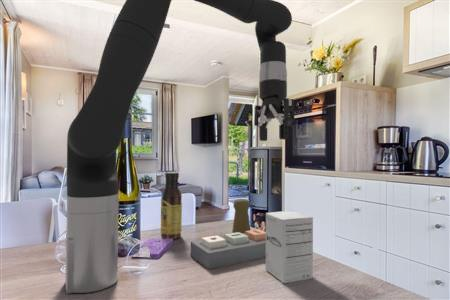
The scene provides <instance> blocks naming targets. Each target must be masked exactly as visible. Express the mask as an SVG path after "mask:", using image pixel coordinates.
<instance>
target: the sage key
mask: <svg viewBox="0 0 450 300" xmlns="http://www.w3.org/2000/svg"><path fill="white" fill-rule="evenodd" d="M223 236H224V239H225V240H226V242H227V243H229V244H231V245H236V244H242V243H248V236H247V235H244V234H242V233H240V232H236V233H232V232H231V233H225V234H224V235H223Z"/></svg>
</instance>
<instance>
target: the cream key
mask: <svg viewBox="0 0 450 300" xmlns="http://www.w3.org/2000/svg"><path fill="white" fill-rule="evenodd" d="M221 237H222V236H219V235H217V234H216V235H211V236H205V237H203V236H202V237H201V238H200V240H201V245H203V246H204V247H206V248H207V249H213V248H219V247H225V246H226V240H225V239H223V238H221Z"/></svg>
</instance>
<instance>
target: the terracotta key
mask: <svg viewBox="0 0 450 300" xmlns="http://www.w3.org/2000/svg"><path fill="white" fill-rule="evenodd" d="M245 235H247V236H248V239H250V240H253V241H259V240H265V239H266V230H262V229H259V228H258V229H250V231H245Z"/></svg>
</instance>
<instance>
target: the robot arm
mask: <svg viewBox="0 0 450 300" xmlns="http://www.w3.org/2000/svg"><path fill="white" fill-rule="evenodd" d="M172 1H173V0H125V2H124V4H123V5H122V7H121V9H120V10H119V13H118V15H117V17H116V19H115V21H114V23H113V25H112V27H111V31H110V32H109V35H108V36H107V40H106V42H105V44H104V47H103V48H104V49H103V51H102V55H101V58H100V63H99V68H98V72H97V76H96V79H95V82H94V84H93V86H92V89H91V91H89V94H88V96H87V97H86V100H85V102H84V103H83V105H82V106H81V108H80V109H79V112H78V113H77V115H76V116H75V118H74V119H73V120H72V122H71V123H70V125H69V128H68V131H67V138H66V139H67V141H66V232H65V233H66V234H65V276H64V277H65V282H64V283H65V294H72V293H74V294H75V293H76V294H77V293H78V294H84V293H86V294H87V293H92V292H93V293H94V292H99V291H101V290H105V289H107V288H109V287H111V286H113V285H114V284H116V282H117V281H118V276H119V275H118V273H119V266H118V265H119V262H118V261H119V260H118V259H119V185H120V183H119V178H118V172H117V150H118V149H119V146H120V145H121V142H122V140H123V135H124V131H125V127H126V123H127V119H128V116H129V112H130V109H131V106H132V102H133V99H134V96H135V95H136V93H137V90H138V89H139V87H140V85H141V84H142V81H143V79H144V78H145V75H146V74H147V72H148V69H149V66H150V64H151V62H152V59H153V57H154V54H155V52H156V50H157V46H158V45H159V42H160V38H161V36H162V32H163V29H164V27H165V23H166V20H167V17H168V14H169V9H170V6H171V3H172ZM193 1H194V2H197V3H201V4H203V5H207V6H208V7H211V8H213V9H217V10H218V11H220V12H223V13H225V14H226V15H229V16H230V17H232V18H234V19H236V20H238V21H240V22H241V23H245V24H252V23H255V25H254V30H255V31H254V32H255V36H256V39H257V44H258V47H259V51H260V54H259V55H260V56H259V58H260V60H259V62H260V63H259V65H260V66H259V72H258V73H259V74H258V75H259V77H258V78H259V80H258V81H259V85H258V89H259V91H258V92H259V96H258V97H259V99H260V100H261V101H262V102H261V105H255V106H254V119H253V120H254V123H253V124H254V126H255V127H256V126H257V127H258V129H259V132H258V134H259V135H258V137H259V140H260V141H262V142H263V141H264V142H266V141H268V125H269V123H270V122H272V120H274V119H276V120H277V121H278V122H279V125H278V130H279V131H278V133H279V134H278V137H279V140H287V139H288V137H289V125H290V124H291V123H293V122H295V101H294V99H293V98H288V97H287V96H288V70H287V50H286V48H287V47H286V45H285V44H284V42H282V41H279V40H277V39H276V38H277V35H280V34H282V33H284V32H285V31H287V30H288V29H289V28H290V27H291V25H292V21H293V15H292V12H291V11H290V9H289V8H288V6H286V5H285V4H283V3H282V2H280V1H276V0H193Z"/></svg>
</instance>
